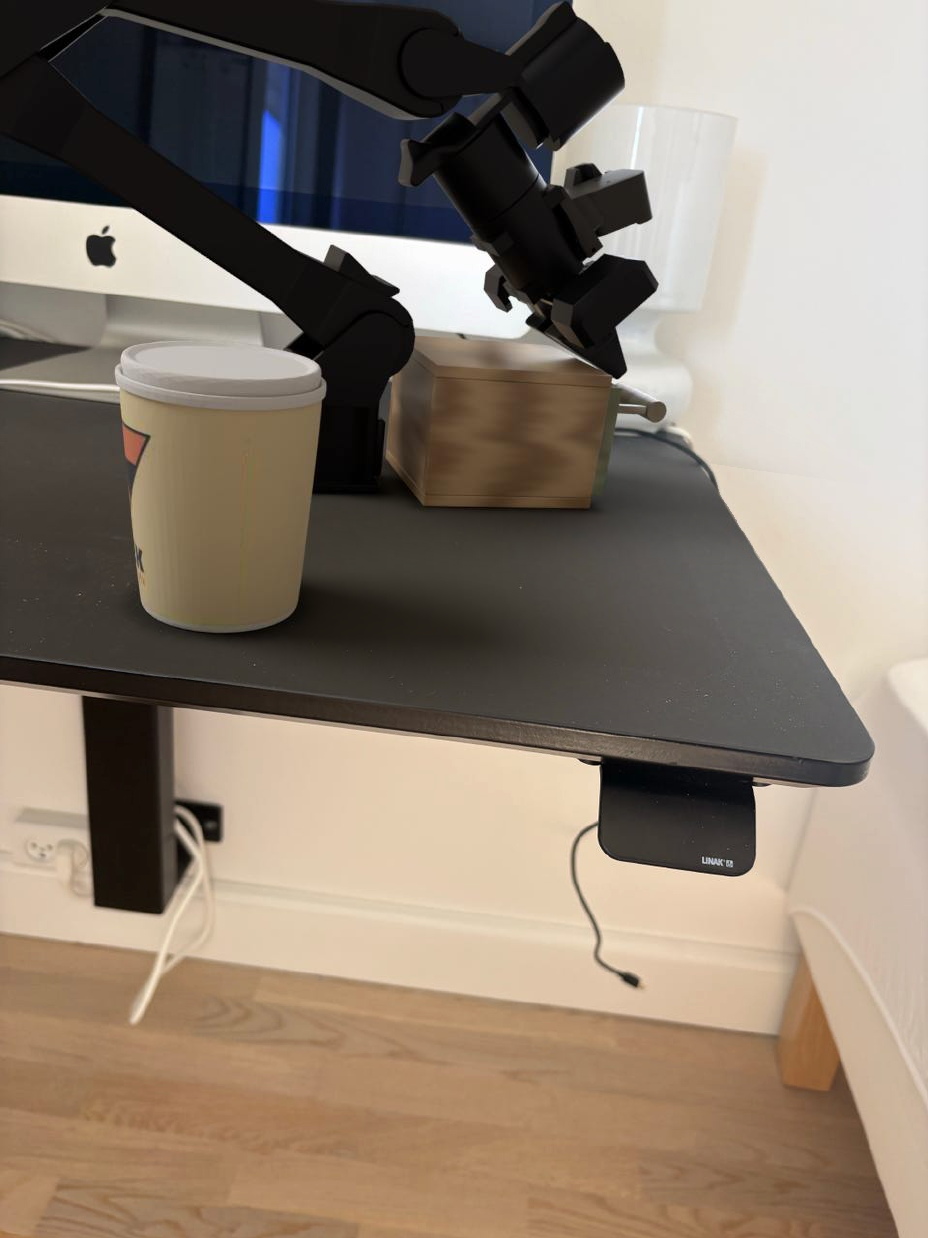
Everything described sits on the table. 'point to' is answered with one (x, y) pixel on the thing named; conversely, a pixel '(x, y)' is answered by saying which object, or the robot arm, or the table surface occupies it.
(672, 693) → the table surface
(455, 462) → the cabinet
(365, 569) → the table surface
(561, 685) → the table surface
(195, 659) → the table surface
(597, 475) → the drawer
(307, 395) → the coffee cup
